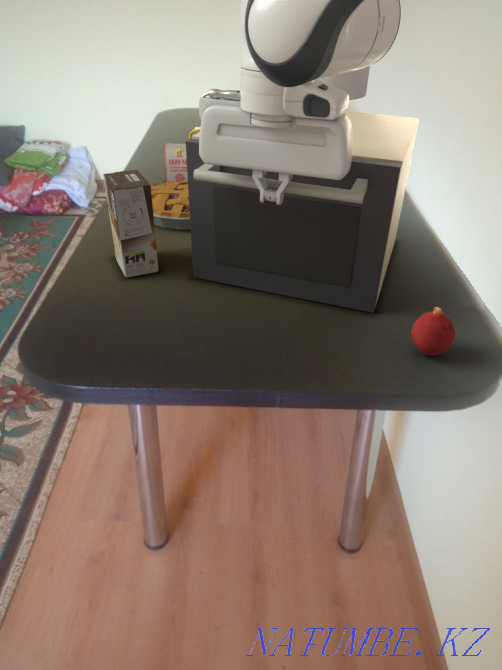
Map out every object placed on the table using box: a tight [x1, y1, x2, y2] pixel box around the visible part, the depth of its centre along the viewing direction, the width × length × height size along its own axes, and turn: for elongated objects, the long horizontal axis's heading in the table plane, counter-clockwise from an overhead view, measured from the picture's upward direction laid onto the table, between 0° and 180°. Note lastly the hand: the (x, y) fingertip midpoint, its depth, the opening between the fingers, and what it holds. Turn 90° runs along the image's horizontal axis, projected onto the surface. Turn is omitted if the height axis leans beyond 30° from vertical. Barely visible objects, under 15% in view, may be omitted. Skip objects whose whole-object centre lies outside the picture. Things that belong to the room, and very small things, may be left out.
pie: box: [151, 180, 191, 231], centre depth 115 cm, size 22×22×5 cm
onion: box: [410, 306, 456, 357], centre depth 73 cm, size 6×6×8 cm
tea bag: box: [163, 143, 188, 183], centre depth 129 cm, size 4×7×10 cm, turn 92°
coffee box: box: [102, 169, 159, 278], centre depth 91 cm, size 9×6×16 cm
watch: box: [188, 126, 201, 139], centre depth 158 cm, size 6×3×6 cm, turn 74°
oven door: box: [184, 138, 402, 314], centre depth 79 cm, size 7×32×24 cm, turn 70°
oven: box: [192, 110, 420, 308], centre depth 93 cm, size 28×32×24 cm
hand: (271, 202), depth 71 cm, fingers closed, pressing on oven door
